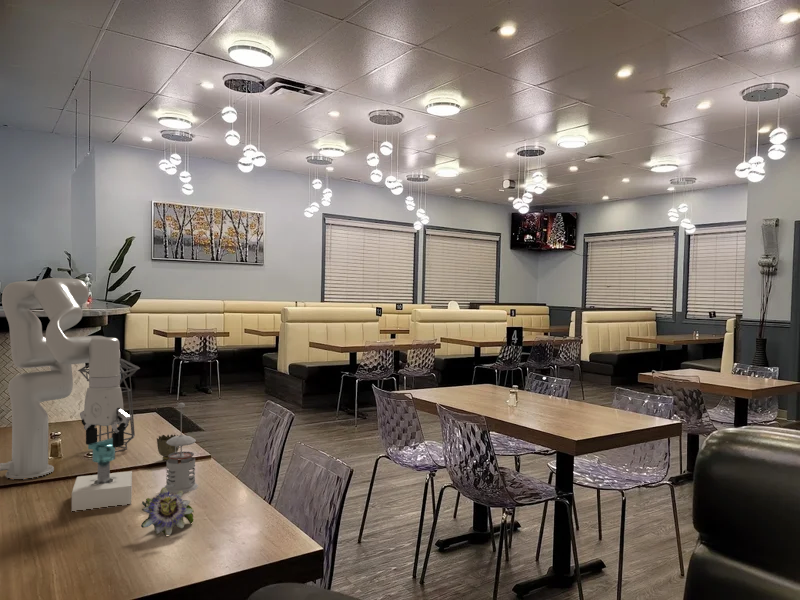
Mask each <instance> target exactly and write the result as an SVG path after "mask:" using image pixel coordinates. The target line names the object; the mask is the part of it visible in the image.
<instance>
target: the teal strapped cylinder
mask: <svg viewBox="0 0 800 600" xmlns="http://www.w3.org/2000/svg"><path fill="white" fill-rule="evenodd" d="M87 448H88V450H92V462H93V463H97V475H98V482H97V484H106V483H110V473H111V472H110V471H111V462H112V461H114V460H115V459H116V452H115V451H116V448H114V447H113V438H112V437H109V439H107V438H106V439H103V440H102V439H101V441H99V440H98V441H97V442H95V443H92V444H88V445H87Z"/></svg>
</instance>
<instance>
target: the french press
mask: <svg viewBox="0 0 800 600" xmlns="http://www.w3.org/2000/svg"><path fill="white" fill-rule="evenodd" d="M184 407H186V405H185V403H184V402H179V403H178V405H177V408H180V434H178V436H177V435H176V436H175V437H172V438H171V439H169V440H168V441H167V442H166V443H167V444H168V445H171V446H175V453H171V454H169V455H168V458H170V459H168V460H167V461H166V469H165V471H166V478H165V479H166V483H165V484H166V485H164V486H163V487H164V488H166V489H167V491H168V492H170V493H169V494H175V493H177V492H179V491H182V492H183V494H184V493H185V494H186V493H190V492H192V490H193V491H195V490H197V489H198V488H199V484H198V483H196V478H195V477H196V458H195V457H194V455H195V453H194V452H192V451H183V449H182V448H183V447H184V446H191V445H194V444H195V443H196V441H197V440H196V438H194V437H192V436H189V435H183V433H182V432H183V431H182V430H183V429H182V426H183V425H182V424H183V422H182V421H183V420H182V419H183V418H182V417H183V408H184ZM177 446H179V447H177ZM176 447H177V448H180V451H177V452H176ZM179 461H180V463H179ZM197 487H198V488H197ZM189 491H190V492H189Z"/></svg>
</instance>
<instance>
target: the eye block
mask: <svg viewBox="0 0 800 600" xmlns="http://www.w3.org/2000/svg"><path fill="white" fill-rule="evenodd" d="M97 482H98V474H92V475H80V476H77V477H76V478H75V482H74V485H73V487H72V492H71V512H72V511H75V512H77V511H76V510H83V511H87V510H86V509H91V510H94V509H93V508H99V509H101V508H100V507H107V508H109V507H108V506H115V507H118V506H117V505H122V506H128V505H127V504H130V505H132V498H133V497H132V493H133V471H132V470H129V471H120V472H119V471H117V472H112V473H111V472H110V483H106V484H97Z"/></svg>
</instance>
